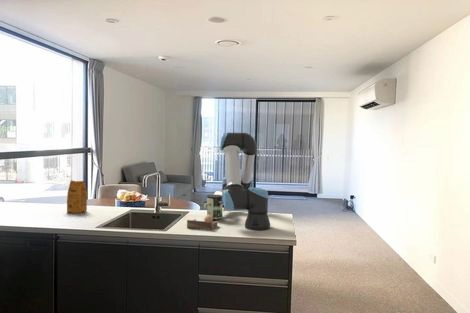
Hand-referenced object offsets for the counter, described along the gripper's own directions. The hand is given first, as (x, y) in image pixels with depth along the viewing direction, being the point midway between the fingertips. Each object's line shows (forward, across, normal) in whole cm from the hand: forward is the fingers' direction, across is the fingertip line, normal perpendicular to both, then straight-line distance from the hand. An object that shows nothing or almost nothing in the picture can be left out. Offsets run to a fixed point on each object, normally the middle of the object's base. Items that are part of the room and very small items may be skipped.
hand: (212, 206), depth 224 cm
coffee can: (-4, 0, -8) cm, 9 cm away
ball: (+8, 0, -7) cm, 10 cm away
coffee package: (+5, +98, -9) cm, 99 cm away
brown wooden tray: (+17, 0, -9) cm, 20 cm away
